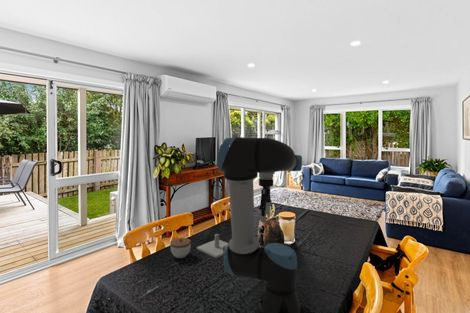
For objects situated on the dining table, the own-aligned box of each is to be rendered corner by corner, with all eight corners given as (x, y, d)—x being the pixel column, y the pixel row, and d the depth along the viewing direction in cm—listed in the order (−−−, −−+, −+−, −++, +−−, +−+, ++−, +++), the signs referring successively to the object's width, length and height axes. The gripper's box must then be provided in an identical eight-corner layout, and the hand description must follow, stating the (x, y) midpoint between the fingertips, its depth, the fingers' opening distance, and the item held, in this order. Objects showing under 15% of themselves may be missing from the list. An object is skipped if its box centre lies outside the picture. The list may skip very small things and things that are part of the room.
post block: (216, 258, 138) (216, 243, 137) (196, 249, 148) (196, 235, 148) (236, 248, 149) (237, 234, 149) (217, 240, 160) (217, 227, 160)
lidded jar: (166, 257, 138) (165, 240, 137) (179, 249, 148) (179, 233, 147) (182, 262, 133) (182, 244, 132) (194, 253, 143) (194, 237, 142)
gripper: (269, 182, 124) (268, 226, 126) (276, 175, 148) (275, 211, 150) (254, 182, 126) (253, 224, 128) (263, 174, 150) (262, 210, 152)
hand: (265, 218), depth 139 cm, fingers open, 13 cm apart
